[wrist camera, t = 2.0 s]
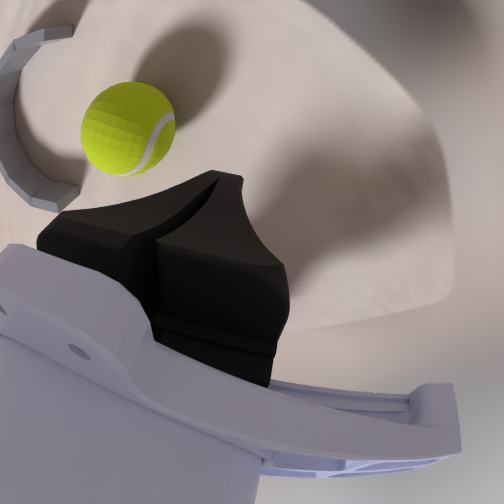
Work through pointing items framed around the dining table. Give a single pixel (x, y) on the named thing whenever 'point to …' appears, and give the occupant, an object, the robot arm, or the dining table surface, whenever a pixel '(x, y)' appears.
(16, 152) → the catch ring
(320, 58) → the dining table surface
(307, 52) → the dining table surface
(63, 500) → the robot arm
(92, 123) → the tennis ball
